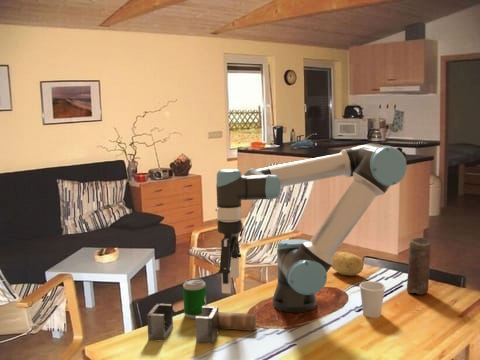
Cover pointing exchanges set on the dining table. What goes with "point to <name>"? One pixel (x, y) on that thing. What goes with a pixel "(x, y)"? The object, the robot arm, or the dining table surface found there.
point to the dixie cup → (372, 298)
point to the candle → (418, 266)
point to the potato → (347, 263)
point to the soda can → (194, 297)
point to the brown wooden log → (237, 321)
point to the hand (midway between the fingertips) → (230, 284)
